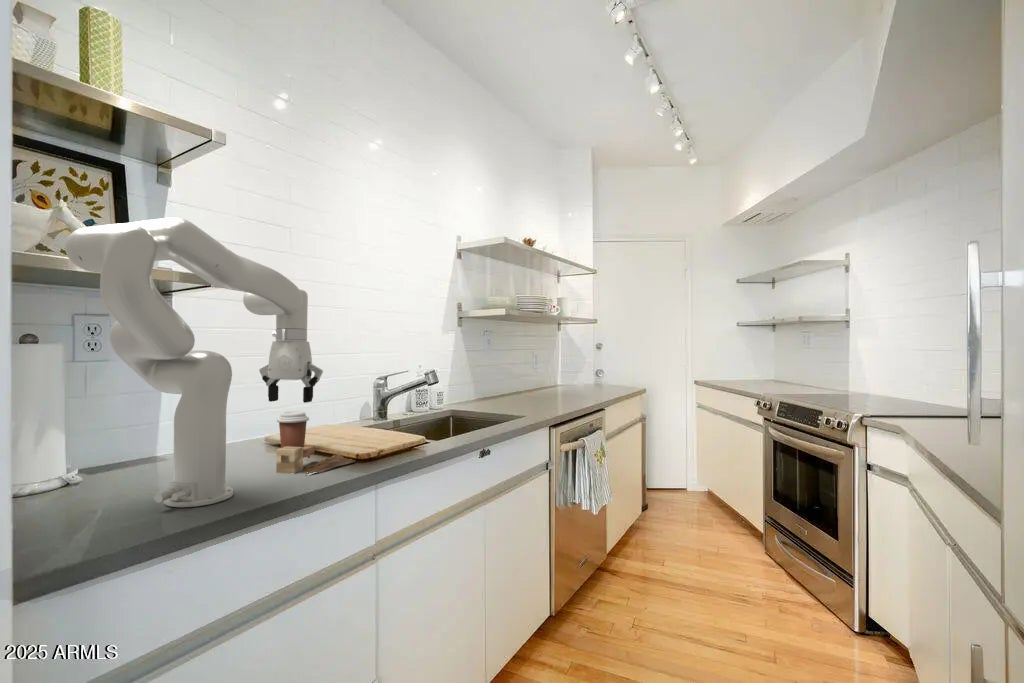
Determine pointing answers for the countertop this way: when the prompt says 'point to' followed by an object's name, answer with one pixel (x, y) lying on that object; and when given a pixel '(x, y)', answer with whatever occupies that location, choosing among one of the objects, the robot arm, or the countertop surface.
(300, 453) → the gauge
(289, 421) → the coffee cup
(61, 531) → the countertop surface
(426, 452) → the countertop surface
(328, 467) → the wooden fragment
